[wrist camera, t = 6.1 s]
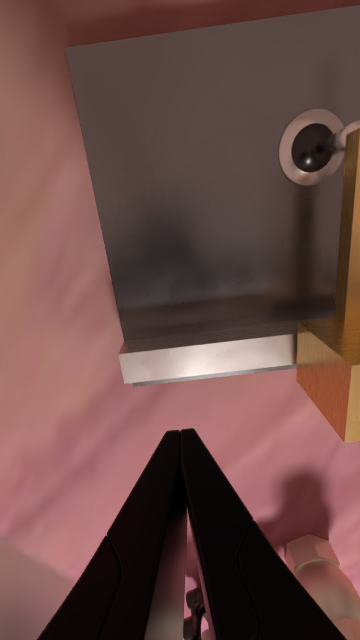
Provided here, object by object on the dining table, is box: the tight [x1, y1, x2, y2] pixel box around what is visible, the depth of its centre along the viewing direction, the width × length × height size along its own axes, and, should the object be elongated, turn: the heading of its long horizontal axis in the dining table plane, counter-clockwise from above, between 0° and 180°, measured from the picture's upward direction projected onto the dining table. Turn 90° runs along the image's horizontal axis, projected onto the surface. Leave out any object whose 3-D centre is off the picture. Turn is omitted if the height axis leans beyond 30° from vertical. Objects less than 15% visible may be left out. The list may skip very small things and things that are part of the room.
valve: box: [183, 534, 360, 640], centre depth 20 cm, size 7×7×12 cm
